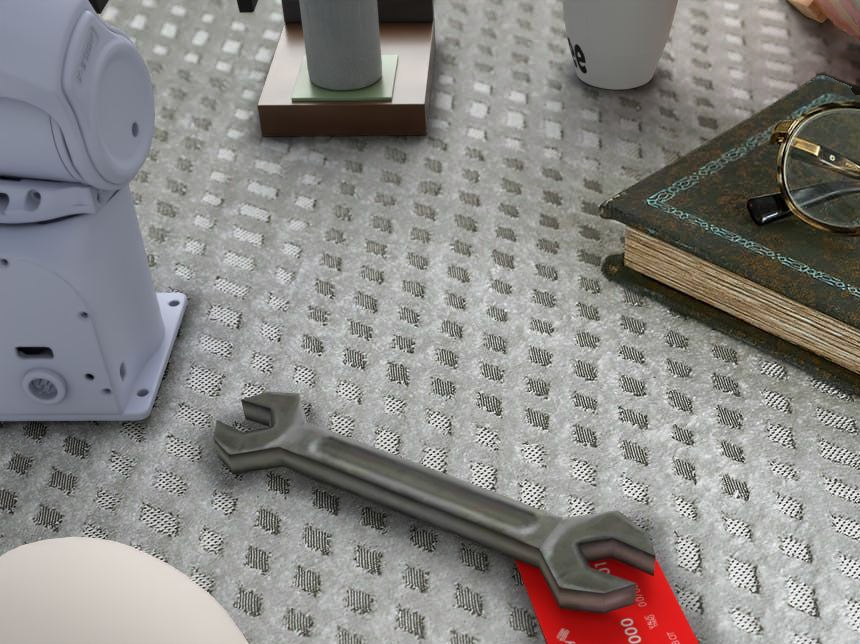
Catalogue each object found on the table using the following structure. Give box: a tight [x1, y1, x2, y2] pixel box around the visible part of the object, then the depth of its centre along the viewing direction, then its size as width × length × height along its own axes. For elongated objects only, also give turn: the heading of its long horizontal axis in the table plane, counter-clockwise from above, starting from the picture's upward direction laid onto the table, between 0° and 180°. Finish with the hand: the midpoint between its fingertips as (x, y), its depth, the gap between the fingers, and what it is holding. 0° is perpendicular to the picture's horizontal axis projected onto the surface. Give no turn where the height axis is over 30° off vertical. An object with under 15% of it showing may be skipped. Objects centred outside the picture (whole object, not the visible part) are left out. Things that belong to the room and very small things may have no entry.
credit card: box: [514, 558, 700, 644], centre depth 45 cm, size 8×5×1 cm, turn 15°
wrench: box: [212, 391, 657, 614], centre depth 48 cm, size 5×2×20 cm
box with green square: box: [257, 0, 437, 137], centre depth 76 cm, size 13×10×4 cm
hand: (174, 5), depth 61 cm, fingers open, 7 cm apart
